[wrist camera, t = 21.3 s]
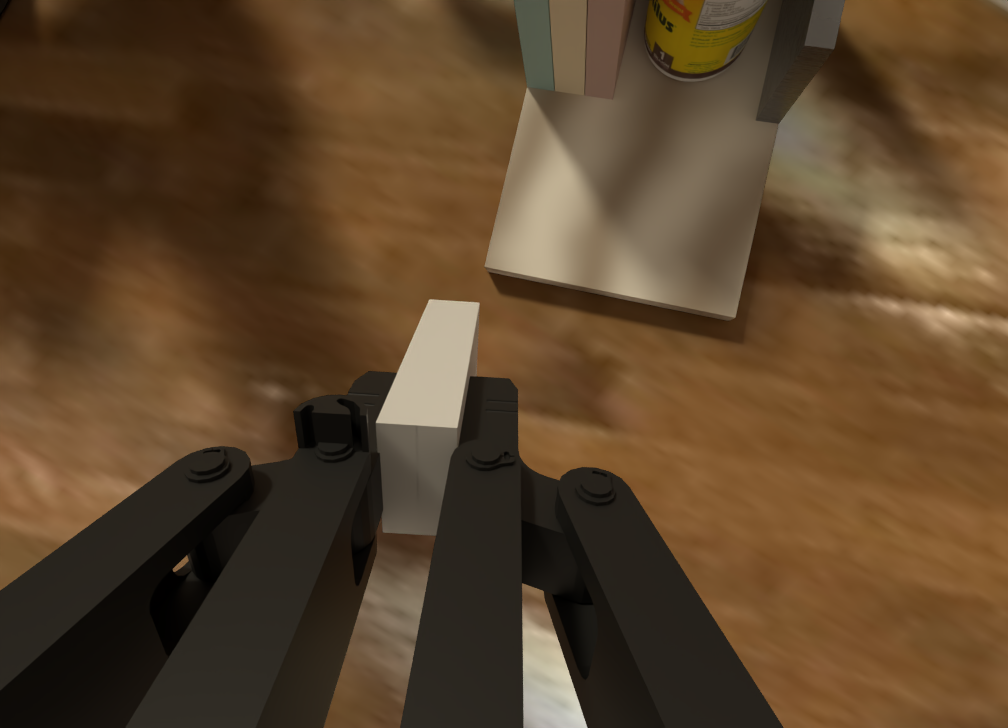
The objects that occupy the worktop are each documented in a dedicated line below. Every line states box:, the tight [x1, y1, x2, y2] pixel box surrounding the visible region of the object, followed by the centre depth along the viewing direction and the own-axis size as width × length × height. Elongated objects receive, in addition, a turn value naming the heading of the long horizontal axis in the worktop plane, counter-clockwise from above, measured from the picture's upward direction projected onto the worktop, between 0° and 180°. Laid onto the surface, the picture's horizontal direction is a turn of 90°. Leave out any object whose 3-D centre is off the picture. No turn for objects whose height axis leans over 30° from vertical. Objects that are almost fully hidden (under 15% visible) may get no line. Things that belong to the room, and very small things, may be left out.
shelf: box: [484, 0, 782, 321], centre depth 23 cm, size 14×20×13 cm
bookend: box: [756, 0, 845, 124], centre depth 25 cm, size 1×8×6 cm, turn 166°
